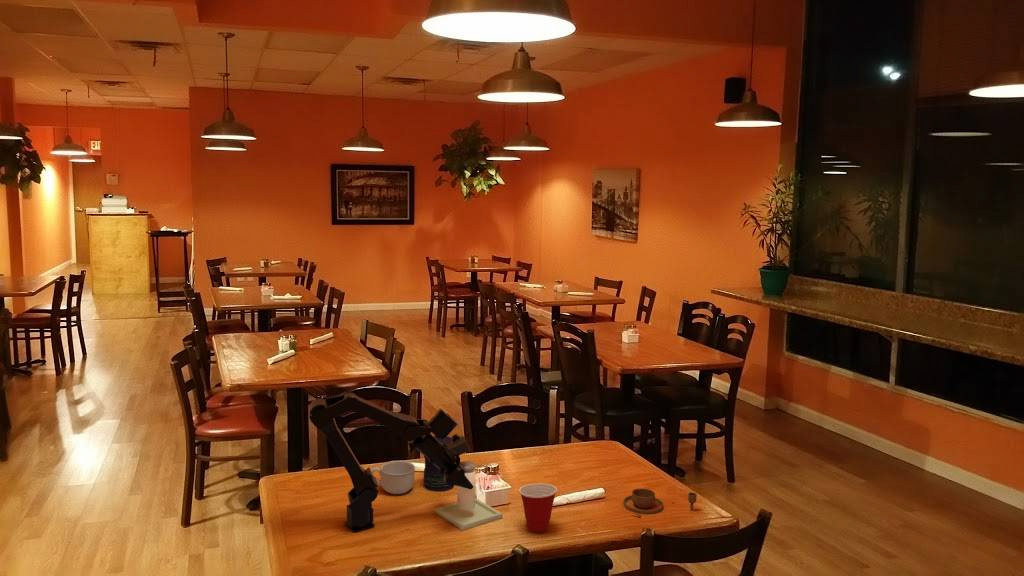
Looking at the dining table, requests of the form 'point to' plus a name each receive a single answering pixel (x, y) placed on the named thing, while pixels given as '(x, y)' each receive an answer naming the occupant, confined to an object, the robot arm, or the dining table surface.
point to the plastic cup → (538, 505)
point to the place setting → (650, 501)
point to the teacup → (396, 476)
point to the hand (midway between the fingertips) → (470, 484)
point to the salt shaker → (463, 494)
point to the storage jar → (435, 473)
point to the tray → (468, 515)
